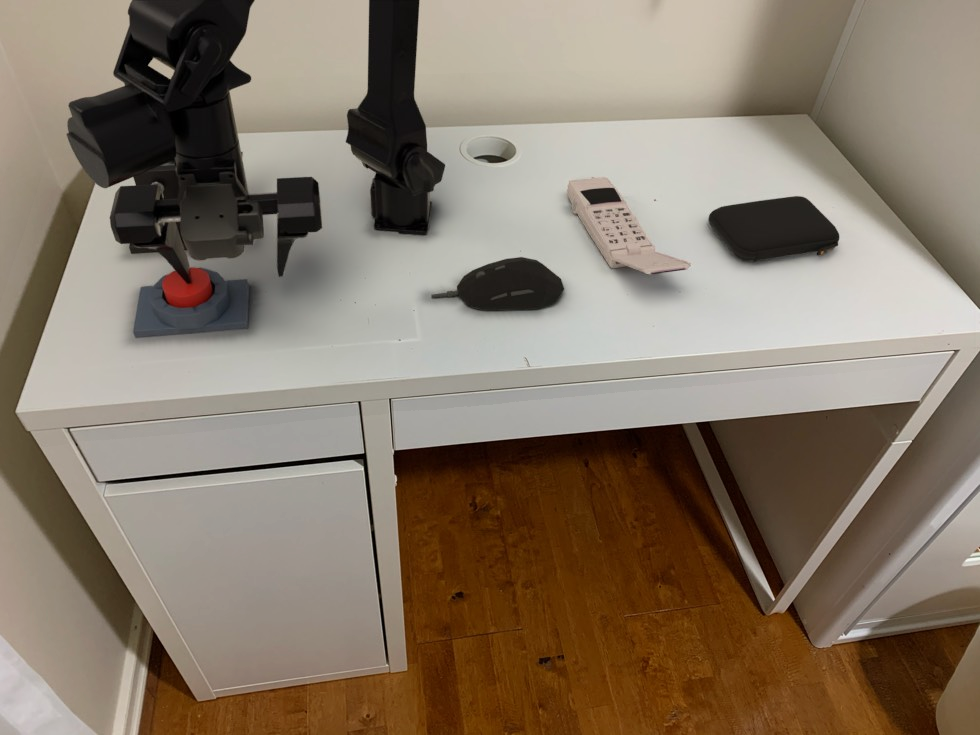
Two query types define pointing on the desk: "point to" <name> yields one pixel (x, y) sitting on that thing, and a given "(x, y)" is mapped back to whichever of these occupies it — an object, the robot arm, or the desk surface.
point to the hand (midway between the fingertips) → (235, 277)
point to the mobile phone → (617, 228)
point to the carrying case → (774, 228)
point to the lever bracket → (170, 189)
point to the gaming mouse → (509, 286)
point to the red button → (187, 289)
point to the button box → (193, 310)
